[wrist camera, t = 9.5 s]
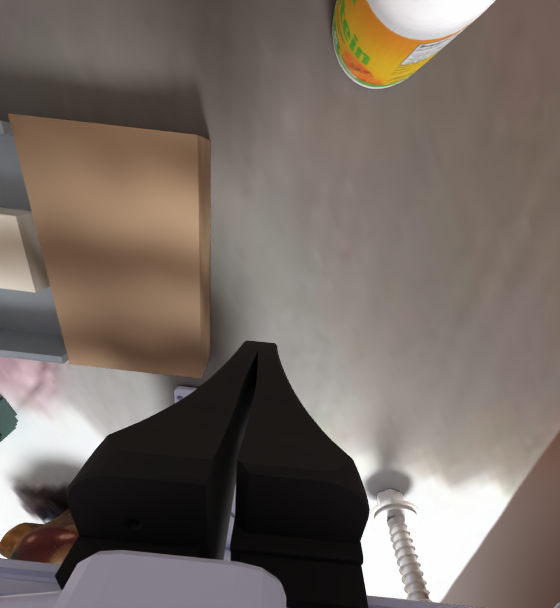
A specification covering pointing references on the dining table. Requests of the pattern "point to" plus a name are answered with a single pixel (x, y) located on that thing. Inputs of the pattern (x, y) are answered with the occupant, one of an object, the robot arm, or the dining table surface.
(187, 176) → the wooden board
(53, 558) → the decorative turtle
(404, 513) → the screw
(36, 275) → the wooden tile
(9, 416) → the can
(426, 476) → the dining table surface
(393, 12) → the supplement bottle
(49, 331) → the box
